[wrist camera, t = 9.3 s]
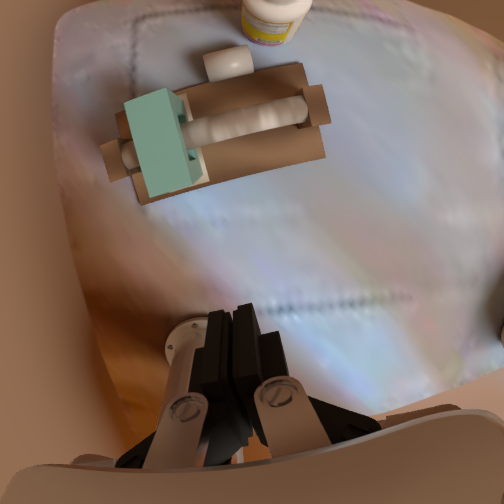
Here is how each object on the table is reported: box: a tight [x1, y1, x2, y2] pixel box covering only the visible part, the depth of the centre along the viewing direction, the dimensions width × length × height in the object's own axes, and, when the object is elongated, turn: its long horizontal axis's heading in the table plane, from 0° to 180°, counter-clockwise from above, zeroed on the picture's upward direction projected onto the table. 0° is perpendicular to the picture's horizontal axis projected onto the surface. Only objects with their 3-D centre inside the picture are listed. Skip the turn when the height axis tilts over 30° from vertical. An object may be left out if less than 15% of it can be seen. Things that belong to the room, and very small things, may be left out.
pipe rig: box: [100, 63, 331, 206], centre depth 30 cm, size 12×23×8 cm, turn 104°
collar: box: [124, 88, 203, 198], centre depth 29 cm, size 9×4×9 cm, turn 14°
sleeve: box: [202, 44, 254, 83], centre depth 30 cm, size 4×5×4 cm
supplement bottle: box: [241, 0, 312, 47], centre depth 24 cm, size 7×7×13 cm
